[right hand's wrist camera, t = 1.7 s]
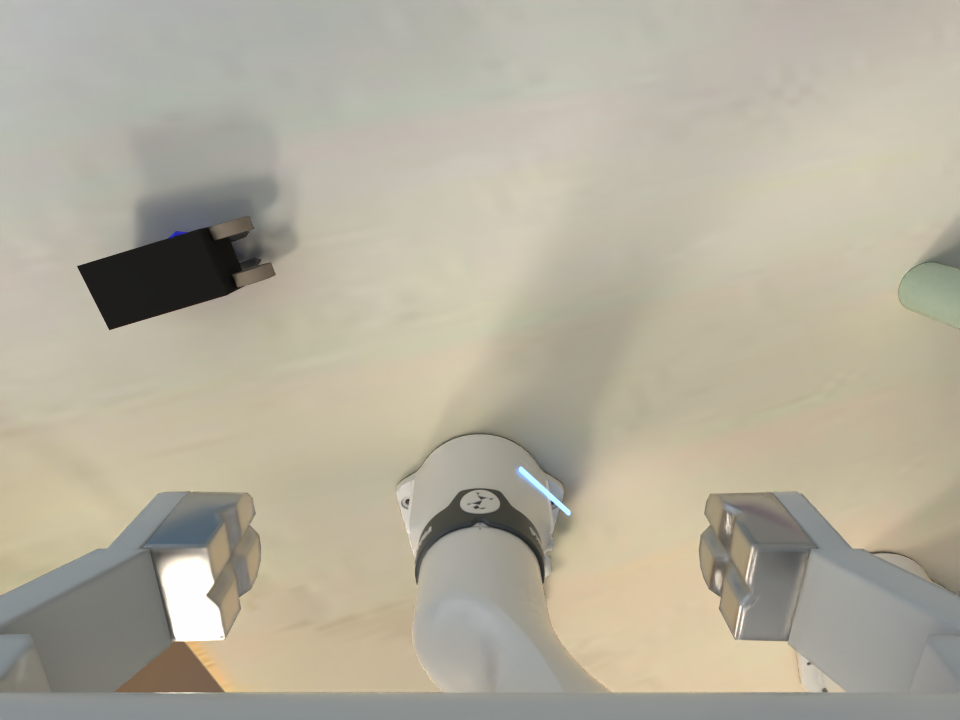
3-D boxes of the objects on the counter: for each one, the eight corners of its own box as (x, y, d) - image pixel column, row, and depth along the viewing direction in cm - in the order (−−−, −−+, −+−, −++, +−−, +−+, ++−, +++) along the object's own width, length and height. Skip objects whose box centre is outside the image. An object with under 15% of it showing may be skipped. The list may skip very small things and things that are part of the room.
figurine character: (259, 204, 56) (111, 252, 56) (237, 210, 49) (68, 266, 49) (287, 269, 59) (145, 316, 59) (270, 285, 51) (108, 338, 51)
